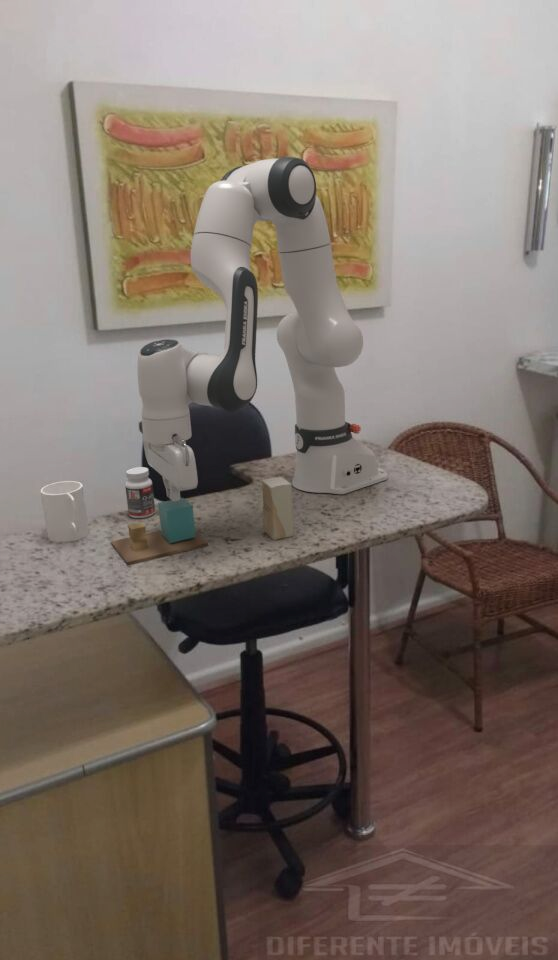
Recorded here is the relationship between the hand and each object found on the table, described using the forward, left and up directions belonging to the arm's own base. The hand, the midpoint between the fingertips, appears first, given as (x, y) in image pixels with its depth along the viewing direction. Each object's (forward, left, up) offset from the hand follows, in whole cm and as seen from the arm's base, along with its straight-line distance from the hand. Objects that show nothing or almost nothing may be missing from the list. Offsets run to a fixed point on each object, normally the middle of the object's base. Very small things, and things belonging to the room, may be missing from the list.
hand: (173, 498), depth 144 cm
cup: (+18, -14, -9) cm, 24 cm away
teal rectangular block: (0, 0, -8) cm, 8 cm away
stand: (+4, 0, -9) cm, 10 cm away
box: (-18, +8, -9) cm, 22 cm away
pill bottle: (+2, -18, -9) cm, 20 cm away
